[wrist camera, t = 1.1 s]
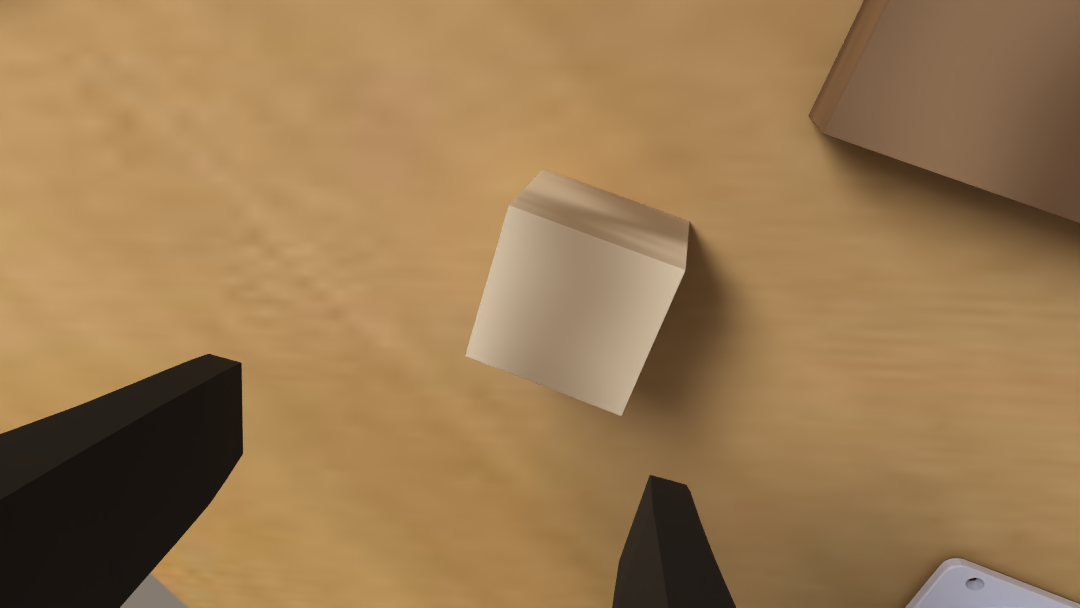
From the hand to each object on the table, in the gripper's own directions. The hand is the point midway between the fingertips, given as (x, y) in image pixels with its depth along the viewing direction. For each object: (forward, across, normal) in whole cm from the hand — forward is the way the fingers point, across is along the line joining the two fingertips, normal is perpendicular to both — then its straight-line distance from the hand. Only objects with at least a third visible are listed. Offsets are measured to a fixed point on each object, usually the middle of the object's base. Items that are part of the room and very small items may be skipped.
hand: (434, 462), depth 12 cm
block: (+10, -2, 0) cm, 11 cm away
